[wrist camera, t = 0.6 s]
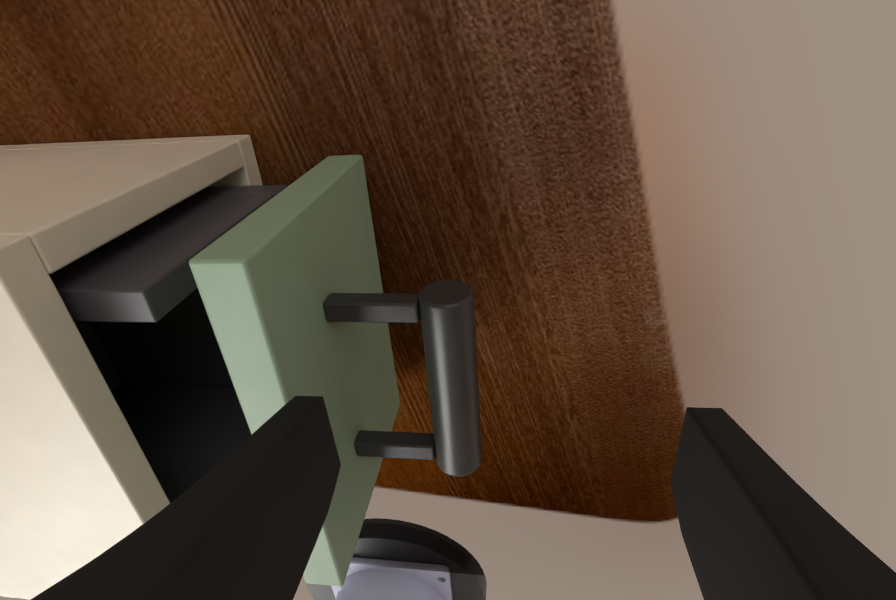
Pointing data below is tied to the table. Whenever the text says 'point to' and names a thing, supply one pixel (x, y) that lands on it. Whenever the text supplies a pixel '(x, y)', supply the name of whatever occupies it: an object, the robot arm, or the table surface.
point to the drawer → (273, 337)
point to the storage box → (77, 344)
